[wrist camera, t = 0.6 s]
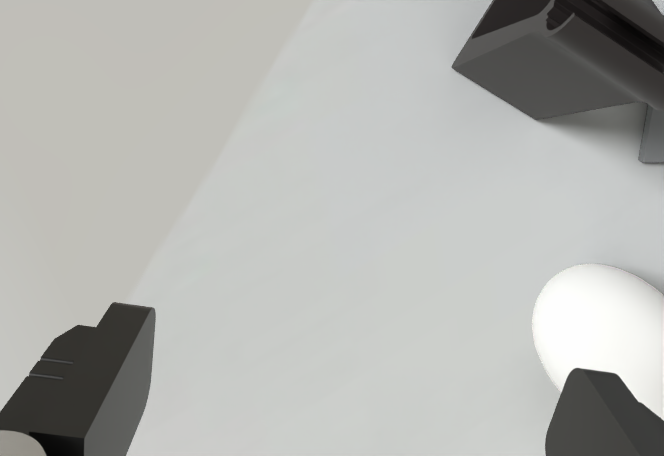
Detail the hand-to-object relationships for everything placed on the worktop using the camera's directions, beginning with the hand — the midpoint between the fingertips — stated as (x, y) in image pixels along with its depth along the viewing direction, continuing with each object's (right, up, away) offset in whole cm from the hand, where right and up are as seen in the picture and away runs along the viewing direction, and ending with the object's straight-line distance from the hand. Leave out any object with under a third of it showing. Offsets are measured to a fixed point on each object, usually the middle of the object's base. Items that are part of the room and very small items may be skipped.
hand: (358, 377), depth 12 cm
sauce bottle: (+15, -1, +30) cm, 33 cm away
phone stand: (+11, +14, +23) cm, 29 cm away
